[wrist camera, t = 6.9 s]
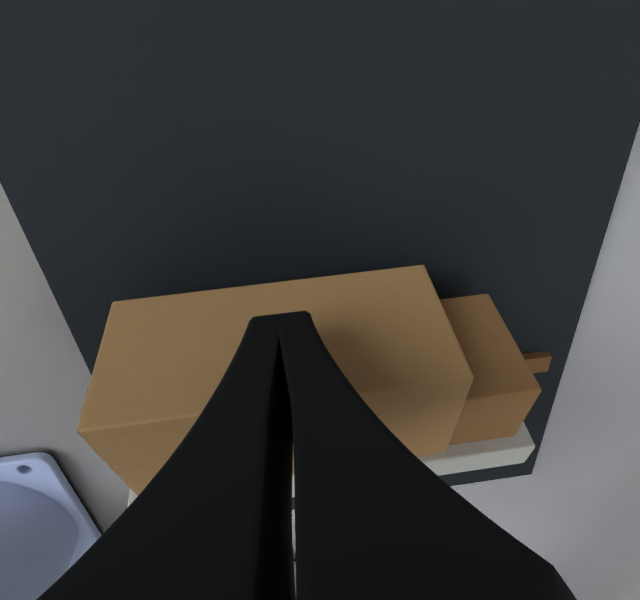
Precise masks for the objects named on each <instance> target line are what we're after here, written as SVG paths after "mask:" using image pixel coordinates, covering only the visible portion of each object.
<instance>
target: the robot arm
mask: <svg viewBox="0 0 640 600" xmlns="http://www.w3.org/2000/svg"><path fill="white" fill-rule="evenodd" d="M293 452H294V485H295V532H296V591H295V576H294V560H293V545H292V473H293ZM67 569H68V570H67ZM0 600H577V599H576V598H575V596H574V595H573V593H572V592H571V590H570V589H569V588H568V586H567V585H566V583H565V582H564V580H563V579H562V578H561V576H560V575H559V573H558V572H557V571H556V569H555V568H554V566H553V565H551V564H550V563H549V562H547V561H546V560H545V559H543V558H542V557H540V556H539V555H538V554H536V553H535V552H534V551H532V550H531V549H529V548H528V547H527V546H525V545H524V544H522V543H521V542H520V541H518V540H517V539H515V538H514V537H513V536H511V535H510V534H509V533H508V532H506V531H505V530H504V529H502V528H501V527H500V526H498V525H497V524H496V523H494V522H493V521H492V520H490V519H489V518H488V517H486V516H485V515H484V514H483V513H481V512H480V511H479V510H478V509H477V508H475V507H474V506H473V505H472V504H470V503H469V502H468V501H467V500H465V499H464V498H463V497H462V496H460V495H459V494H458V493H457V492H455V491H454V490H453V489H452V488H451V487H450V486H449V485H448V484H446V483H445V482H444V481H443V480H442V479H441V478H440V477H439V476H438V475H436V474H435V473H434V472H433V471H432V470H431V469H430V468H429V467H427V466H426V465H425V464H424V463H423V462H422V461H421V460H420V459H419V458H417V457H416V456H415V455H414V454H413V453H412V452H411V451H410V450H409V449H408V448H407V447H406V446H405V445H404V444H403V443H402V442H401V441H400V440H399V439H398V438H397V437H396V436H395V435H394V434H393V433H392V432H391V431H390V430H389V429H388V428H387V426H386V425H385V424H384V423H383V422H382V421H381V420H380V419H379V418H378V417H377V416H376V414H375V413H374V412H373V411H372V410H371V409H370V407H369V406H368V405H367V404H366V403H365V401H364V400H363V399H362V398H361V396H360V395H359V394H358V393H357V391H356V390H355V389H354V387H353V386H352V385H351V384H350V382H349V381H348V379H347V378H346V377H345V375H344V374H343V373H342V371H341V370H340V368H339V367H338V365H337V364H336V362H335V361H334V359H333V358H332V356H331V355H330V353H329V351H328V350H327V348H326V346H325V344H324V343H323V341H322V339H321V337H320V335H319V333H318V331H317V329H316V327H315V325H314V322H313V320H312V317H311V314H310V313H309V312H307V311H306V310H305V311H297V312H289V313H280V314H272V315H263V316H255V317H253V318H252V319H251V320H250V321H249V323H248V326H247V328H246V331H245V333H244V336H243V338H242V340H241V342H240V345H239V347H238V349H237V351H236V353H235V355H234V357H233V359H232V361H231V363H230V365H229V366H228V368H227V370H226V372H225V374H224V376H223V378H222V379H221V381H220V383H219V385H218V387H217V388H216V390H215V392H214V393H213V395H212V396H211V398H210V400H209V401H208V403H207V404H206V406H205V408H204V409H203V411H202V412H201V414H200V416H199V417H198V419H197V420H196V422H195V423H194V425H193V426H192V428H191V429H190V430H189V432H188V433H187V435H186V436H185V437H184V439H183V440H182V442H181V443H180V444H179V446H178V447H177V448H176V450H175V451H174V452H173V454H172V455H171V456H170V458H169V459H168V460H167V461H166V463H165V464H164V465H163V466H162V468H161V469H160V470H159V471H158V472H157V474H156V475H155V476H154V477H153V479H152V480H151V481H150V482H149V483H148V485H147V486H146V487H145V488H144V490H143V491H142V492H141V493H140V494H139V495H138V497H137V498H136V499H135V500H134V501H133V502H132V503H131V505H130V506H129V507H128V508H127V509H126V510H125V511H124V512H123V513H122V514H121V516H120V517H119V518H118V519H117V520H116V521H115V522H114V523H113V524H112V525H111V526H110V527H109V528H108V529H107V530H106V531H105V532H104V533H103V534H102V535H101V534H100V532H99V530H98V529H97V527H96V526H95V524H94V522H93V521H92V519H91V518H90V516H89V514H88V513H87V511H86V509H85V508H84V506H83V505H82V503H81V501H80V500H79V498H78V497H77V495H76V493H75V492H74V490H73V489H72V487H71V485H70V484H69V482H68V481H67V479H66V477H65V476H64V474H63V472H62V471H61V469H60V468H59V466H58V464H57V463H56V461H55V460H54V458H53V457H52V456H51V455H49V454H47V453H43V452H35V453H27V454H20V455H13V456H5V457H0Z"/></svg>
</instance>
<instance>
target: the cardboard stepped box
mask: <svg viewBox="0 0 640 600" xmlns="http://www.w3.org/2000/svg"><path fill="white" fill-rule="evenodd" d="M305 310H306V311H307V312H309V313H310V314H311V317H312V320H313V322H314V325H315V327H316V329H317V331H318V333H319V335H320V337H321V339H322V341H323V343H324V344H325V346H326V348H327V350H328V351H329V353H330V355H331V356H332V358H333V359H334V361H335V362H336V364H337V365H338V367H339V368H340V370H341V371H342V373H343V374H344V375H345V377H346V378H347V379H348V381H349V382H350V384H351V385H352V386H353V387H354V389H355V390H356V391H357V393H358V394H359V395H360V396H361V398H362V399H363V400H364V401H365V403H366V404H367V405H368V406H369V407H370V409H371V410H372V411H373V412H374V413H375V414H376V416H377V417H378V418H379V419H380V420H381V421H382V422H383V423H384V424H385V425H386V426H387V428H388V429H389V430H390V431H391V432H392V433H393V434H394V435H395V436H396V437H397V438H398V439H399V440H400V441H401V442H402V443H403V444H404V445H405V446H406V447H407V448H408V449H409V450H410V451H411V452H412V453H413V454H414V455H415V456H416V457H417V458H419V459H420V460H421V461H422V462H423V463H424V464H425V465H426V466H427V467H429V468H430V469H431V470H432V471H433V472H434V473H435V474H436V475H438V476H439V475H445V474H452V473H459V472H465V471H472V470H479V469H486V468H492V467H499V466H506V465H512V464H519V463H524V462H525V461H526V459H527V458H528V457H529V455H530V454H531V452H532V451H533V450H534V448H535V444H534V442H533V440H532V438H531V436H530V434H529V432H528V430H527V428H526V426H525V424H524V422H523V421H524V419H525V417H526V416H527V414H528V412H529V411H530V409H531V407H532V406H533V404H534V402H535V401H536V399H537V398H538V396H539V394H540V393H541V391H542V390H541V387H540V385H539V384H538V382H537V380H536V378H535V376H534V375H533V373H532V371H531V369H530V367H529V366H528V364H527V362H526V360H525V359H524V357H523V355H522V353H521V351H520V350H519V348H518V346H517V344H516V343H515V341H514V339H513V337H512V335H511V334H510V332H509V330H508V328H507V326H506V325H505V323H504V321H503V319H502V318H501V316H500V314H499V312H498V310H497V309H496V307H495V305H494V303H493V302H492V300H491V298H490V296H489V294H480V295H472V296H464V297H456V298H448V299H439V297H438V295H437V293H436V290H435V288H434V286H433V284H432V281H431V279H430V277H429V275H428V272H427V270H426V268H425V266H424V265H415V266H407V267H398V268H390V269H382V270H373V271H365V272H356V273H348V274H340V275H331V276H323V277H314V278H306V279H298V280H289V281H281V282H272V283H264V284H256V285H247V286H239V287H230V288H222V289H214V290H205V291H197V292H189V293H180V294H172V295H163V296H155V297H147V298H138V299H130V300H121V301H114V302H113V303H112V305H111V309H110V312H109V316H108V319H107V323H106V327H105V330H104V334H103V337H102V341H101V344H100V348H99V352H98V355H97V359H96V362H95V366H94V369H93V373H92V377H91V380H90V384H89V387H88V391H87V395H86V398H85V402H84V405H83V409H82V412H81V416H80V420H79V423H78V427H77V433H78V434H79V435H80V436H81V437H82V438H83V439H84V440H85V441H86V442H87V443H88V444H89V445H90V446H91V448H92V449H93V450H94V451H95V452H96V453H97V454H98V455H99V456H100V457H101V458H102V459H103V460H104V461H105V462H106V463H107V464H108V465H109V467H110V468H111V469H112V470H113V471H114V472H115V473H116V474H117V475H118V476H119V477H120V478H121V479H122V480H123V481H124V482H125V483H126V484H127V485H128V487H129V488H130V492H129V498H128V504H127V506H128V507H129V506H130V505H131V503H132V502H133V501H134V500H135V499H136V498H137V497H138V495H139V494H140V493H141V492H142V491H143V490H144V488H145V487H146V486H147V485H148V483H149V482H150V481H151V480H152V479H153V477H154V476H155V475H156V474H157V472H158V471H159V470H160V469H161V468H162V466H163V465H164V464H165V463H166V461H167V460H168V459H169V458H170V456H171V455H172V454H173V452H174V451H175V450H176V448H177V447H178V446H179V444H180V443H181V442H182V440H183V439H184V437H185V436H186V435H187V433H188V432H189V430H190V429H191V428H192V426H193V425H194V423H195V422H196V420H197V419H198V417H199V416H200V414H201V412H202V411H203V409H204V408H205V406H206V404H207V403H208V401H209V400H210V398H211V396H212V395H213V393H214V392H215V390H216V388H217V387H218V385H219V383H220V381H221V379H222V378H223V376H224V374H225V372H226V370H227V368H228V366H229V365H230V363H231V361H232V359H233V357H234V355H235V353H236V351H237V349H238V347H239V345H240V342H241V340H242V338H243V336H244V333H245V331H246V328H247V326H248V323H249V321H250V320H251V319H252V318H253V317H255V316H263V315H272V314H280V313H289V312H297V311H305ZM292 497H295V485H294V452H293V473H292Z"/></svg>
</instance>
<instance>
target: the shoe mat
mask: <svg viewBox="0 0 640 600" xmlns="http://www.w3.org/2000/svg"><path fill="white" fill-rule="evenodd" d="M639 122H640V0H0V182H1V185H2V187H3V189H4V191H5V193H6V195H7V197H8V199H9V202H10V204H11V206H12V208H13V210H14V212H15V214H16V216H17V218H18V221H19V223H20V225H21V227H22V229H23V231H24V233H25V235H26V237H27V240H28V242H29V244H30V246H31V248H32V250H33V252H34V254H35V256H36V259H37V261H38V263H39V265H40V267H41V269H42V271H43V273H44V275H45V278H46V280H47V282H48V284H49V286H50V288H51V290H52V292H53V295H54V297H55V299H56V301H57V303H58V305H59V307H60V309H61V311H62V314H63V316H64V318H65V320H66V322H67V324H68V326H69V328H70V330H71V333H72V335H73V337H74V339H75V341H76V343H77V345H78V347H79V349H80V352H81V354H82V356H83V358H84V360H85V362H86V364H87V366H88V368H89V371H90V373H91V375H92V373H93V369H94V366H95V362H96V359H97V355H98V352H99V348H100V344H101V341H102V337H103V334H104V330H105V327H106V323H107V319H108V316H109V312H110V309H111V305H112V303H113V302H114V301H121V300H130V299H138V298H147V297H155V296H163V295H172V294H180V293H189V292H197V291H205V290H214V289H222V288H230V287H239V286H247V285H256V284H264V283H272V282H281V281H289V280H298V279H306V278H314V277H323V276H331V275H340V274H348V273H356V272H365V271H373V270H382V269H390V268H398V267H407V266H415V265H424V266H425V268H426V270H427V272H428V275H429V277H430V279H431V281H432V284H433V286H434V288H435V290H436V293H437V295H438V297H439V299H448V298H456V297H464V296H472V295H480V294H489V296H490V298H491V300H492V302H493V303H494V305H495V307H496V309H497V310H498V312H499V314H500V316H501V318H502V319H503V321H504V323H505V325H506V326H507V328H508V330H509V332H510V334H511V335H512V337H513V339H514V341H515V343H516V344H517V346H518V348H519V350H520V351H521V353H522V355H523V357H524V359H525V360H526V362H527V364H528V366H529V367H530V369H531V371H532V373H533V375H534V376H535V378H536V380H537V382H538V384H539V385H540V387H541V390H542V391H541V393H540V394H539V396H538V398H537V399H536V401H535V402H534V404H533V406H532V407H531V409H530V411H529V412H528V414H527V416H526V417H525V419H524V421H523V422H524V424H525V426H526V428H527V430H528V432H529V434H530V436H531V438H532V440H533V442H534V444H535V448H534V450H533V451H532V452H531V454H530V455H529V457H528V458H527V459H526V461H525V462H524V463H519V464H512V465H506V466H499V467H492V468H486V469H479V470H472V471H465V472H459V473H452V474H445V475H439V477H440V478H441V479H442V480H443V481H444V482H445V483H446V484H448V485H449V486H454V485H461V484H468V483H474V482H481V481H488V480H495V479H501V478H508V477H515V476H521V475H528V474H532V470H533V467H534V464H535V461H536V457H537V454H538V451H539V448H540V444H541V441H542V438H543V435H544V431H545V428H546V425H547V422H548V418H549V415H550V412H551V409H552V405H553V402H554V399H555V396H556V392H557V389H558V386H559V383H560V379H561V376H562V373H563V370H564V366H565V363H566V360H567V356H568V353H569V350H570V347H571V343H572V340H573V337H574V334H575V330H576V327H577V324H578V321H579V317H580V314H581V311H582V308H583V304H584V301H585V298H586V295H587V291H588V288H589V285H590V282H591V278H592V275H593V272H594V269H595V265H596V262H597V259H598V256H599V252H600V249H601V246H602V243H603V239H604V236H605V233H606V229H607V226H608V223H609V220H610V216H611V213H612V210H613V207H614V203H615V200H616V197H617V194H618V190H619V187H620V184H621V181H622V177H623V174H624V171H625V168H626V164H627V161H628V158H629V155H630V151H631V148H632V145H633V142H634V138H635V135H636V132H637V129H638V125H639ZM293 509H295V497H292V510H293Z"/></svg>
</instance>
